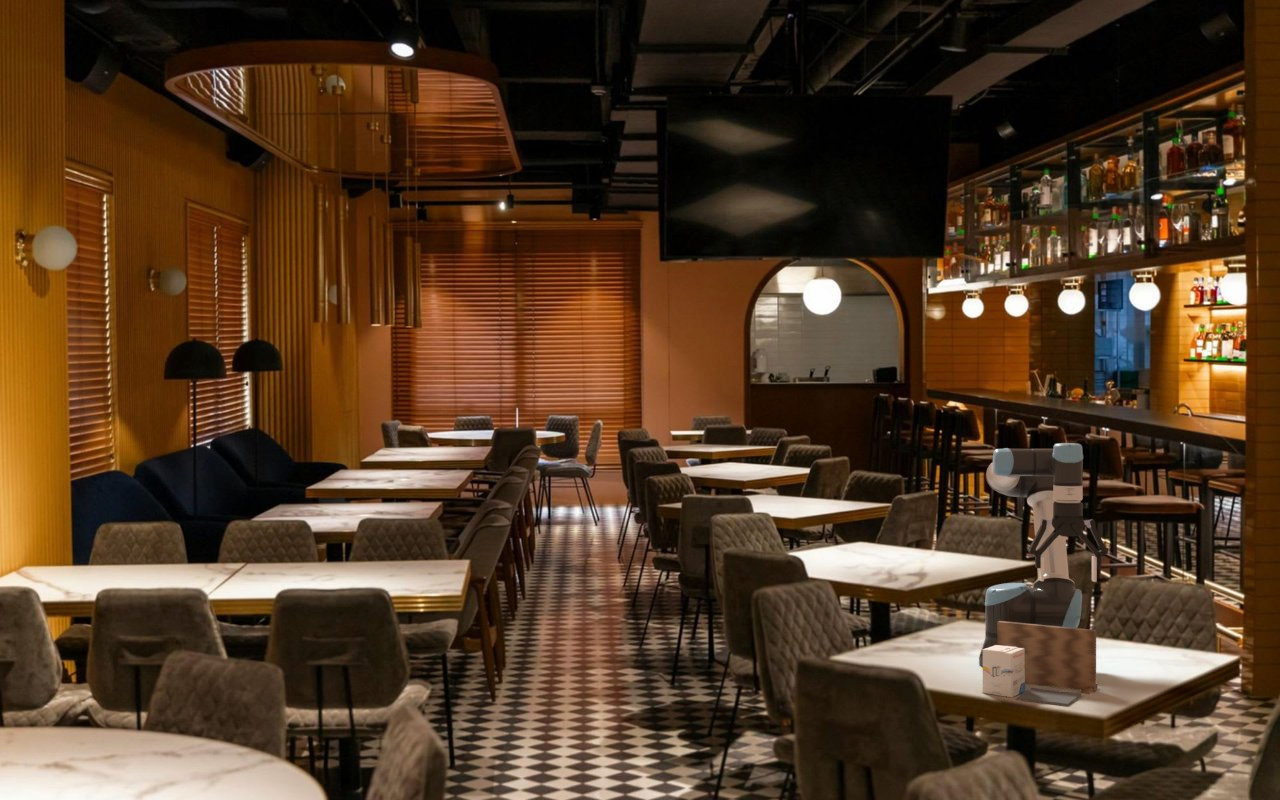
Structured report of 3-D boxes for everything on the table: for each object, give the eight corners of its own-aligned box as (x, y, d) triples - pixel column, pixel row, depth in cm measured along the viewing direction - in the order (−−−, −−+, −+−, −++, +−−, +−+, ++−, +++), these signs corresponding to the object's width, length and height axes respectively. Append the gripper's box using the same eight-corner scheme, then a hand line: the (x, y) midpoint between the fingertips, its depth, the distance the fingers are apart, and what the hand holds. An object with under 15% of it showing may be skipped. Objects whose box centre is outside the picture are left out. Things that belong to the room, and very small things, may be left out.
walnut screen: (994, 682, 374) (994, 623, 374) (1002, 677, 380) (1002, 619, 380) (1091, 693, 360) (1091, 632, 360) (1098, 688, 366) (1098, 628, 366)
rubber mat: (1016, 699, 354) (1016, 697, 354) (1031, 689, 365) (1031, 687, 365) (1067, 706, 347) (1067, 703, 347) (1081, 695, 358) (1081, 693, 358)
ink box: (995, 687, 368) (995, 643, 368) (1025, 691, 363) (1025, 647, 363) (981, 693, 362) (981, 648, 361) (1011, 697, 356) (1011, 652, 356)
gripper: (1021, 502, 365) (1021, 582, 365) (1119, 502, 362) (1119, 583, 362) (1017, 499, 372) (1017, 578, 373) (1113, 500, 369) (1113, 579, 370)
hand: (1067, 580), depth 367 cm, fingers open, 13 cm apart
